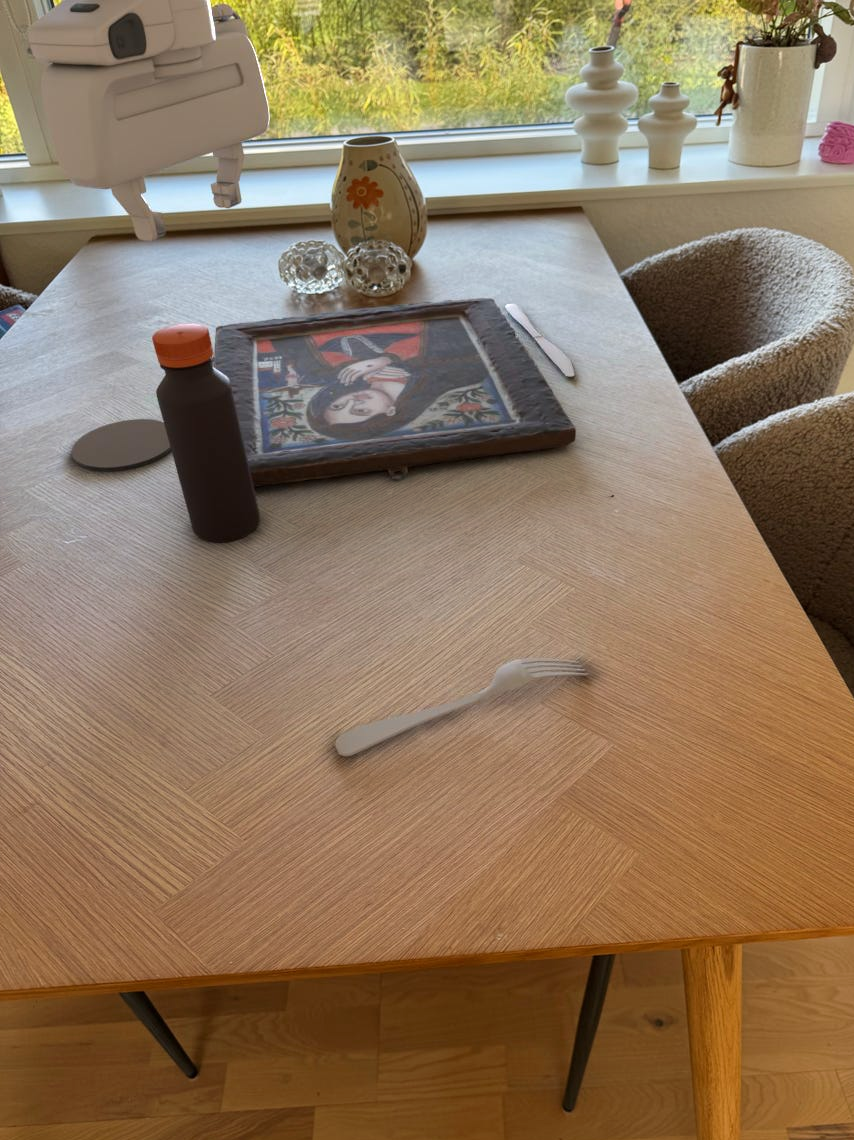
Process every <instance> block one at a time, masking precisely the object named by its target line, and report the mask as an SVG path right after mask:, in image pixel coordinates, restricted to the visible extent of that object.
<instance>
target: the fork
mask: <svg viewBox="0 0 854 1140" xmlns="http://www.w3.org/2000/svg"><path fill="white" fill-rule="evenodd" d="M583 672H584V673H583ZM585 672H586V669H584V668H583V665H580V662H579V661H577V660H569V659H562V658H553V657H552V658H550V657H526V658H518V659H513V660H512V661H508V662H507V663H505V664H504V665H502V666H500V667H499V668H498V669H497V670H496V672H495V674H494V678H493V679H492V681H491V683H490V684H489V685H488V686H487V687H485V688H484V689H482V690H480V691H478V692H476V693H474V694H470V695H469V696H465V697H463V698H460V699H457V700H453V701H450V702H447V703H444V704H439V705H437V706H433V707H429V708H425V709H421V710H418V711H414V712H409V713H406V714H401V715H397V716H392V717H389V718H383V719H379V720H376V721H373V722H370V723H366V724H365V723H364V724H361V725H358V726H356V727H354V728H351V729H349V730H348V731H345V732H343V733H341V734H339V736H338V737H337V738H336V741H335V744H334V747H335V749H336V751H337V753H338V755H339V756H342V757H352V756H353V755H355V754H358V753H360V752H362V751H364V750H367V749H369V748H371V747H373V746H375V745H377V744H379V743H382V742H385V741H386V740H388V739H390V738H392V737H395V736H397V735H399V734H401V733H403V732H406V731H408V730H410V729H413V728H414V727H417V726H420V725H422V724H424V723H426V722H429V721H432V720H434V719H436V718H439V717H441V716H444V715H447V714H449V713H453V712H455V711H457V710H461V709H463V708H466V707H469V706H471V705H473V704H475V703H478V702H480V701H482V700H485V699H487V698H488V697H490V696H492V695H494V694H496V693H499V692H511V691H512V690H515V689H518V688H519V687H520V686H523V685H525V684H527V683H529V682H531V681H533V680H537V679H538V680H539V679H543V678H549V677H550V678H551V677H567V676H571V677H576V676H580V677H582V676H583V677H585V676H586V677H588V676H590V674H589V673H587V672H586V673H585Z"/></svg>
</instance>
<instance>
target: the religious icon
mask: <svg viewBox="0 0 854 1140" xmlns="http://www.w3.org/2000/svg"><path fill="white" fill-rule="evenodd" d="M213 353H214V354H213V356H214V360H213V367H214V368H215V369H217V370H218V371H220V372H221V373H222V374H224V375H225V376H227V377H228V378H229V380H230V383H231V386H232V391H233V395H234V400H235V404H236V409H237V414H238V418H239V423H240V427H241V432H242V437H243V441H244V446H245V450H246V455H247V459H248V464H249V469H250V473H251V478H252V482H253V487H260V486H267V485H275V484H277V485H278V484H287V483H293V482H295V483H296V482H303V481H308V480H316V479H327V478H334V477H335V478H336V477H342V476H348V475H356V474H361V473H362V474H363V473H369V472H380V471H388V474H389V476H390V478H392V479H394V480H397V479H398V480H399V479H402V478H404V477H406V476H407V474H408V472H409V471H408V468H410V467H418V466H424V465H431V464H438V463H447V462H453V461H459V460H466V459H468V460H469V459H473V458H481V457H488V456H489V457H490V456H497V455H503V454H504V455H505V454H511V453H512V454H513V453H516V454H517V453H522V452H531V451H540V450H545V449H546V450H547V449H553V448H559V447H564V446H568V445H569V444H572V443H574V442H575V441H576V434H577V433H576V432H577V430H576V427H575V426H574V424H573V422H572V421H571V419H570V418H569V417H568V415H567V413H566V412H565V410H564V408H563V406H562V404H561V402H560V401H559V400H558V398H557V397H556V395H555V394H554V391H553V389H552V387H551V386H550V385H549V383H548V382H547V380H546V378H545V376H544V374H543V373H542V372H541V370H540V368H539V367H538V364H536V362H535V360H534V359H533V358H532V356H531V354H530V353H529V351H528V349H527V348H526V347H525V346H524V344H523V342H521V341H520V337H517V335H516V332H515V329H514V327H511V324H510V322H509V321H508V320H507V317H506V316H505V314H504V313H502V310H501V308H500V307H499V306H498V305H497V303H496V302H495V299H494V298H488V297H479V298H468V299H455V300H454V299H446V300H442V301H436V302H431V301H422V302H413V303H407V304H392V305H391V304H389V305H383V306H372V307H364V308H358V309H349V310H341V311H334V312H322V313H314V314H308V315H301V316H290V317H282V318H272V319H265V320H256V321H245V322H238V323H229V324H226V325H218V326H216V327H215V336H214V351H213ZM400 471H401V472H402V473H403V474H402V475H401V476H399V475H398V476H397V475H395V473H397V472H400Z"/></svg>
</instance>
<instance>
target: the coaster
mask: <svg viewBox="0 0 854 1140" xmlns="http://www.w3.org/2000/svg"><path fill="white" fill-rule="evenodd" d="M171 452H172V451H171V447H170V444H169V440H168V436H167V433H166V429H165V425H164V422H163V420H159V419H150V418H136V419H127V420H120V421H115V422H112V423H108V424H105V425H102V426H100V427H97V428H94V429H93V430H90V431H89V432H86V433H85V434H84V435H82V436H81V437H80V438H78V439H77V441H75V442H74V444H73V445H72V448H71V456H72V459H73V462H74V463H76V465H78V466H80V467H82V468H83V469H87V470H91V471H97V472H117V471H126V470H131V469H135V468H140V467H143V466H145V465H149V464H151V463H153V462H156V461H158V460H160V459H162V458H163V457H165V456H167V455H168V454H170V453H171Z"/></svg>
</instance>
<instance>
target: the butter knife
mask: <svg viewBox="0 0 854 1140" xmlns="http://www.w3.org/2000/svg"><path fill="white" fill-rule="evenodd" d="M504 308H505V310H506V311H507V312H508V313H509V314H510V315H511V316H512V318H513V319H514V320H515V321H516V322H517V323H518V324H519V325H520V326H522V327H523V328H524V329H525V331H527V332H528V334H530V336H532V338H533V339H534V340H535V342H536V343H537V344H538V345H539V347H541V349H542V350H543V352H544V353H545V354H546V355H547V356H548V357H549V359H550V360H551V361H552V362H553V363H554V364H555V365H556V366H557V367H558V369H559V370H560V371H561V372H562V373H563V375H564V376H565V377H566V378H574V377H575V376H576V375H575V370H574V366H573V363H572V361H571V359H570V358H569V357H568V356H567V354H565V353H564V352H563V351H562V350H560V348H559V347H557V346H556V345H554V344H553V343H551V342H550V341H549V340H547V339H546V338H545V337H544V336H543V335H542V334H540V332H538V331H537V329H536V328H535V327H534V326H533V324H532V323H531V321H530V319H529V317H528V316H527V315H526V314H525V312H524V310H522V309H521V308H520V306H519V305H517V304H515V303H508V304H506V305H505V306H504Z"/></svg>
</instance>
